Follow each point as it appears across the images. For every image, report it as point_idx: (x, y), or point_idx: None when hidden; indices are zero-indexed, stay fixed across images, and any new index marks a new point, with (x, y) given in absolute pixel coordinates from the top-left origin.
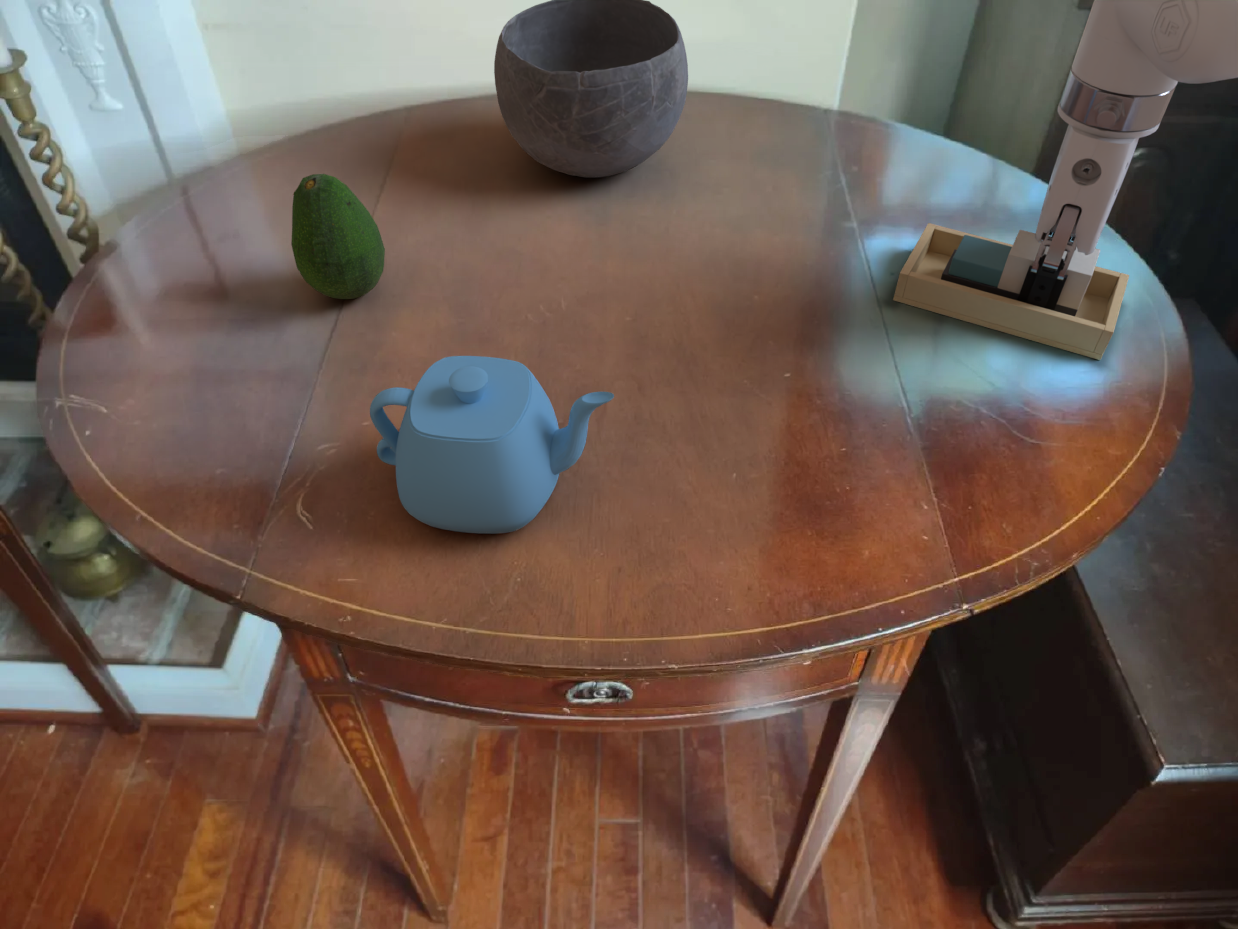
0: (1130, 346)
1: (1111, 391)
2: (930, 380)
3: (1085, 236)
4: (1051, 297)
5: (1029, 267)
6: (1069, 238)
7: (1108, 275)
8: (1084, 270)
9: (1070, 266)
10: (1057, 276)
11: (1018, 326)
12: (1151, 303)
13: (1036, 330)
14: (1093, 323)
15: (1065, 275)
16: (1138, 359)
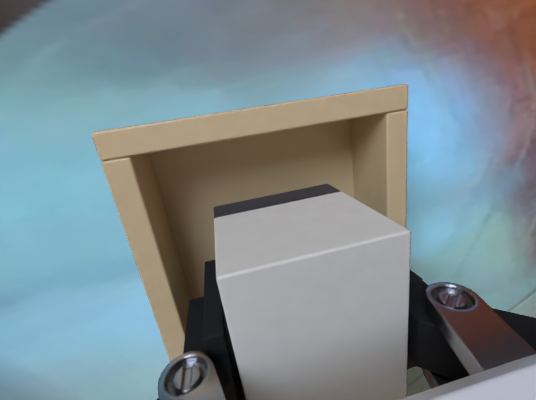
0: (276, 47)
1: (436, 43)
2: (505, 280)
3: None
4: None
5: (413, 365)
6: (231, 383)
7: (140, 185)
8: (393, 261)
9: (392, 302)
10: (417, 299)
11: None
12: (52, 46)
13: None
14: (397, 139)
15: (411, 287)
16: (312, 17)
